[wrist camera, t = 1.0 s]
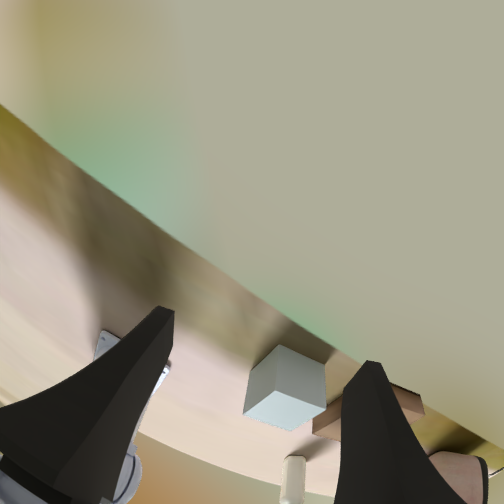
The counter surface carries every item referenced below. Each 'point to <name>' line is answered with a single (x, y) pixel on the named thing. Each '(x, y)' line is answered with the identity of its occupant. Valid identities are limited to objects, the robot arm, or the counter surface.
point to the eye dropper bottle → (293, 480)
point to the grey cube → (285, 389)
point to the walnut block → (330, 419)
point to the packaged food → (464, 475)
